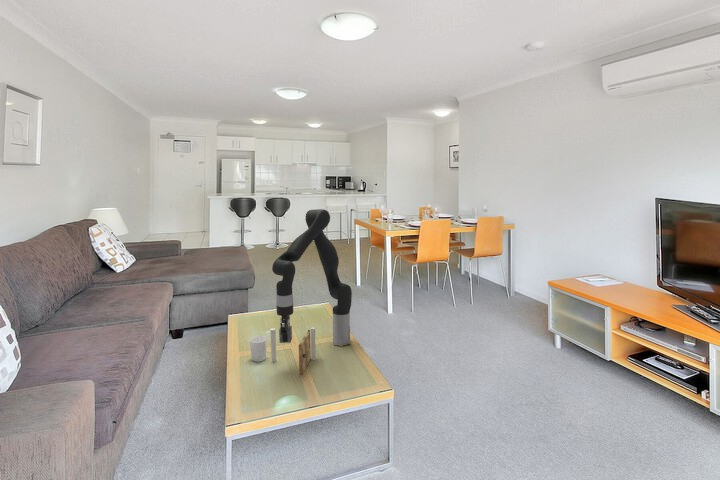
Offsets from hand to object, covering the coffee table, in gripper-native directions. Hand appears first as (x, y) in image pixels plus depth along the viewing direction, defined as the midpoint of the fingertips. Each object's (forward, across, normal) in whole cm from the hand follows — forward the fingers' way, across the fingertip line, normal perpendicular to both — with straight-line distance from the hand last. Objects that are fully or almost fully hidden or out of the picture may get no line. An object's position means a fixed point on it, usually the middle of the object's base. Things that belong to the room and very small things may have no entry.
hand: (285, 339), depth 169 cm
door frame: (+15, +9, -2) cm, 17 cm away
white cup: (+15, +11, +15) cm, 24 cm away
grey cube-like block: (+1, 0, 0) cm, 1 cm away
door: (+15, +1, -9) cm, 17 cm away
